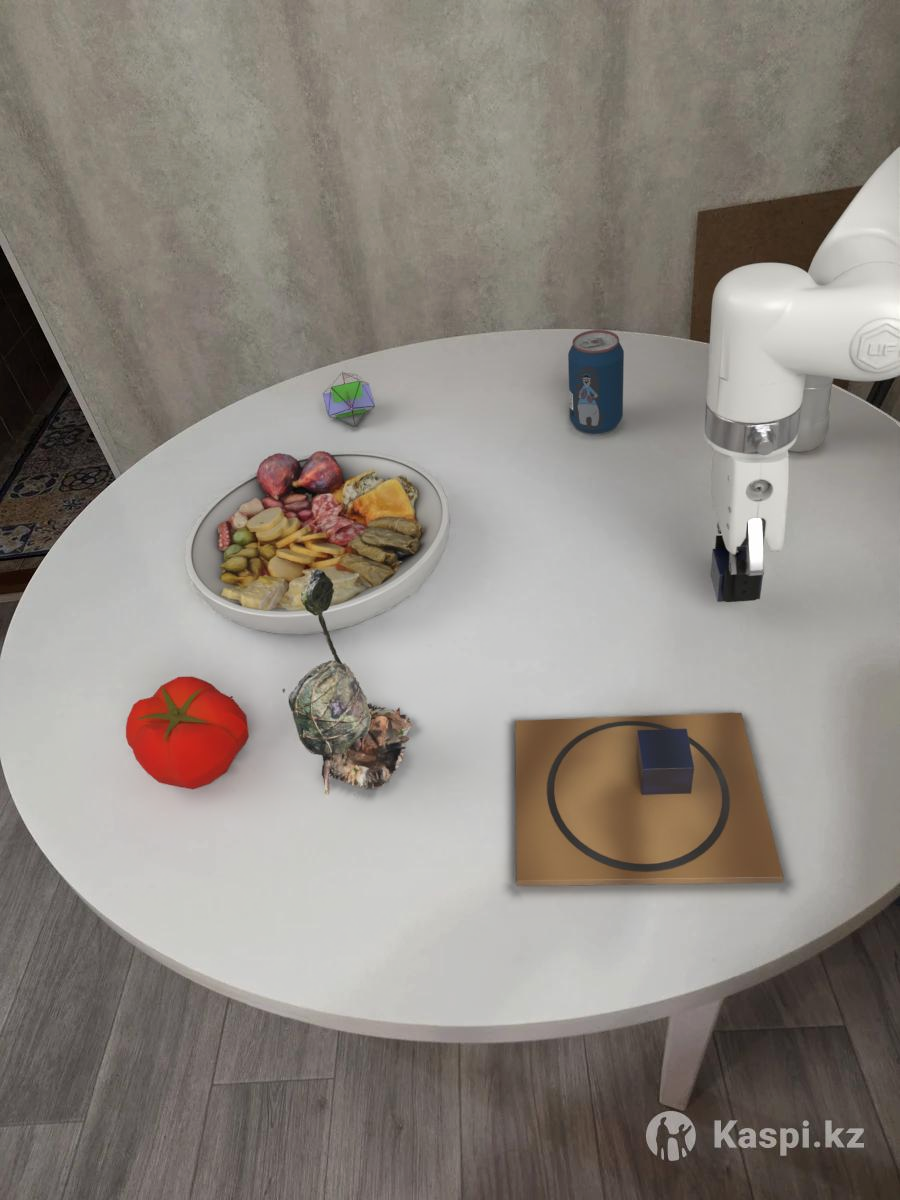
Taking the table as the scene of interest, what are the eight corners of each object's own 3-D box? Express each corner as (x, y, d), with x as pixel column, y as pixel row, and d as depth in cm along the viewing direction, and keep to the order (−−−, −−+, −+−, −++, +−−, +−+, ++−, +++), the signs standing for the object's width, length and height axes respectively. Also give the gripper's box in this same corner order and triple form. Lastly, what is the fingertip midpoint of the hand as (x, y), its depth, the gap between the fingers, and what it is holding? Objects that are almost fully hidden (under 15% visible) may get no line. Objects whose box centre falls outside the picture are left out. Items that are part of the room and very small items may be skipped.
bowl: (503, 571, 95) (498, 514, 90) (252, 693, 86) (229, 638, 81) (381, 456, 116) (370, 404, 110) (167, 545, 106) (144, 493, 101)
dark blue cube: (683, 754, 74) (686, 728, 71) (691, 793, 71) (694, 767, 68) (636, 755, 74) (637, 729, 72) (641, 795, 71) (642, 769, 69)
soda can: (614, 407, 118) (615, 323, 110) (628, 432, 113) (631, 347, 105) (564, 415, 118) (562, 333, 110) (576, 442, 113) (575, 357, 105)
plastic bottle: (758, 447, 107) (781, 290, 94) (788, 423, 110) (814, 268, 97) (806, 464, 103) (837, 304, 90) (836, 440, 106) (870, 281, 93)
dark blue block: (751, 572, 86) (754, 545, 84) (760, 599, 83) (763, 571, 81) (710, 575, 87) (712, 548, 84) (717, 602, 84) (719, 575, 81)
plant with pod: (287, 779, 78) (222, 620, 64) (371, 698, 84) (328, 537, 70) (352, 823, 74) (297, 662, 60) (435, 735, 80) (402, 571, 66)
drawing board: (740, 718, 77) (741, 710, 76) (782, 882, 65) (784, 875, 65) (516, 725, 79) (515, 718, 79) (517, 886, 68) (516, 879, 67)
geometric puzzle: (380, 419, 119) (366, 361, 118) (331, 429, 118) (317, 371, 117) (378, 426, 126) (365, 371, 125) (332, 436, 125) (318, 381, 125)
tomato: (202, 696, 87) (181, 650, 82) (273, 745, 81) (255, 699, 77) (121, 761, 82) (94, 716, 77) (191, 819, 76) (166, 774, 71)
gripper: (825, 471, 66) (796, 641, 78) (775, 367, 78) (756, 527, 90) (723, 480, 67) (710, 646, 79) (690, 376, 79) (683, 533, 91)
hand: (735, 581), depth 84 cm, fingers closed on dark blue block, 4 cm apart
